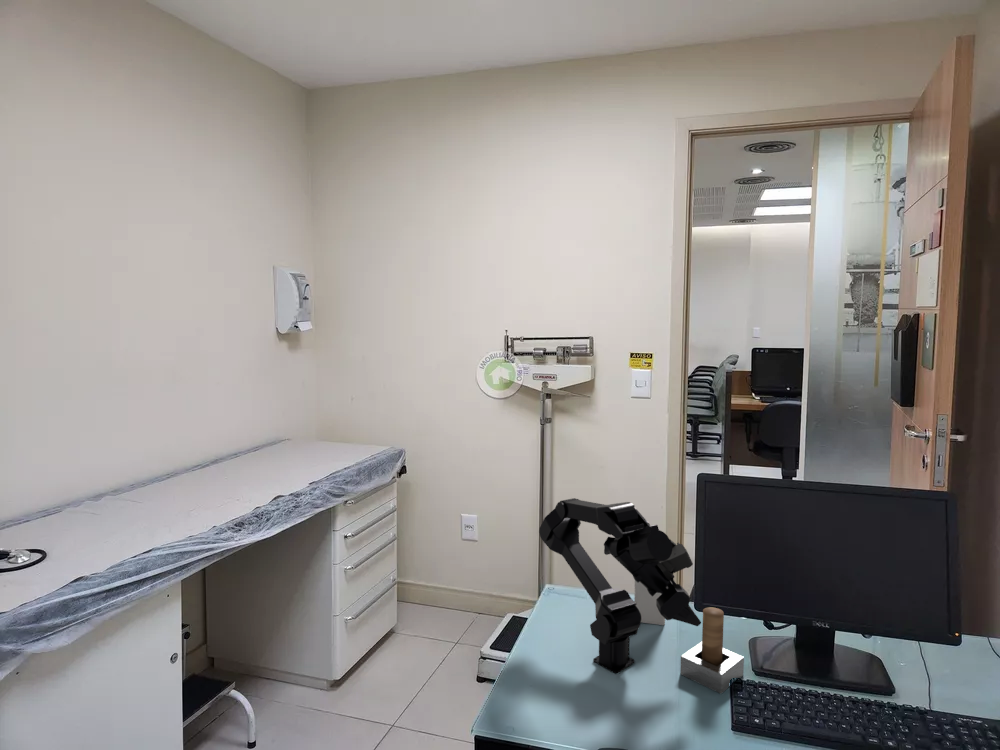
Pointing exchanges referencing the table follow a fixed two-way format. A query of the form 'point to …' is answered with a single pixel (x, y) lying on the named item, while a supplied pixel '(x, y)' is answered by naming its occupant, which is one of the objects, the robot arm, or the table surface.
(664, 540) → the robot arm
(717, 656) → the peg
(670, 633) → the table surface
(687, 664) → the socket block
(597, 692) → the table surface
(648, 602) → the milk carton
